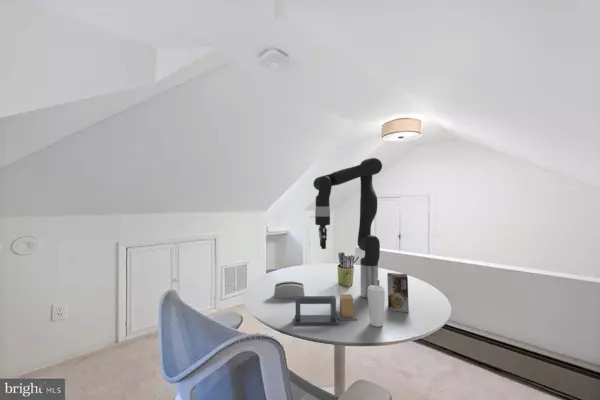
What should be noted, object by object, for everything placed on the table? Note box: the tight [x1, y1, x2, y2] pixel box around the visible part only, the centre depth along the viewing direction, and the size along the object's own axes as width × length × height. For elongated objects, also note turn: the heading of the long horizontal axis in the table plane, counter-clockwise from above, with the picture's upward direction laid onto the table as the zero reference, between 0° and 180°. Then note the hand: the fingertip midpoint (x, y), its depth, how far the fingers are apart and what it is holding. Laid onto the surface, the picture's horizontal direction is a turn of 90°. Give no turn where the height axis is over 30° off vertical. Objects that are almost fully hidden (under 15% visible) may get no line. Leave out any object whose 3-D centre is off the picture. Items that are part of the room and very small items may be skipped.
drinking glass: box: [367, 285, 386, 328], centre depth 106 cm, size 7×7×15 cm
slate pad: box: [336, 310, 358, 321], centre depth 114 cm, size 8×8×1 cm
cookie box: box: [386, 272, 410, 313], centre depth 122 cm, size 9×6×16 cm
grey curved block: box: [273, 280, 305, 300], centre depth 138 cm, size 17×5×10 cm, turn 94°
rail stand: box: [293, 295, 339, 326], centre depth 109 cm, size 18×7×10 cm, turn 90°
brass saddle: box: [339, 293, 354, 318], centre depth 114 cm, size 5×5×8 cm
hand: (322, 247), depth 130 cm, fingers open, 8 cm apart
